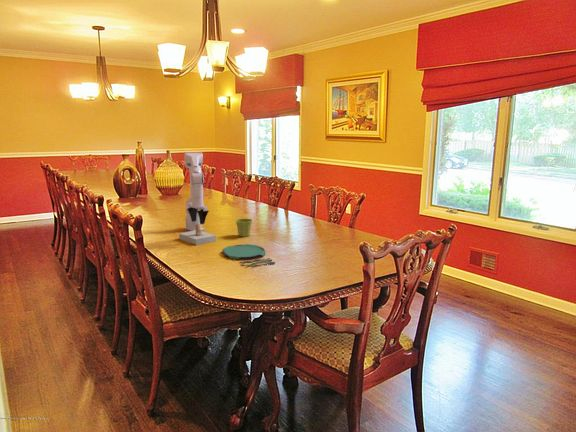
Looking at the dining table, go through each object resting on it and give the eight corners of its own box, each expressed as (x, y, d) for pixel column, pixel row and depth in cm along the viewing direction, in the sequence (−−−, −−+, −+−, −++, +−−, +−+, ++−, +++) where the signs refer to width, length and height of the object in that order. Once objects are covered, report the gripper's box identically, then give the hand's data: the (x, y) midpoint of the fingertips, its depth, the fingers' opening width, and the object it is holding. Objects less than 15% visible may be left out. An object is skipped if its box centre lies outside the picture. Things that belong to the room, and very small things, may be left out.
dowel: (194, 239, 222) (194, 224, 221) (199, 238, 225) (198, 223, 223) (198, 240, 220) (198, 225, 219) (203, 239, 223) (202, 224, 221)
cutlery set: (256, 246, 214) (256, 242, 213) (279, 265, 187) (279, 260, 187) (217, 250, 206) (217, 246, 205) (236, 271, 179) (236, 266, 179)
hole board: (179, 239, 224) (179, 233, 224) (198, 235, 233) (198, 229, 232) (196, 245, 213) (196, 239, 213) (216, 241, 222) (215, 235, 221)
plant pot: (236, 238, 228) (236, 222, 226) (234, 233, 237) (234, 218, 235) (254, 237, 231) (254, 221, 229) (250, 233, 239) (250, 218, 238)
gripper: (182, 195, 220) (183, 221, 223) (198, 199, 210) (199, 226, 213) (194, 194, 225) (195, 219, 228) (210, 197, 215) (211, 224, 218)
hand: (198, 222), depth 220 cm, fingers open, 7 cm apart
